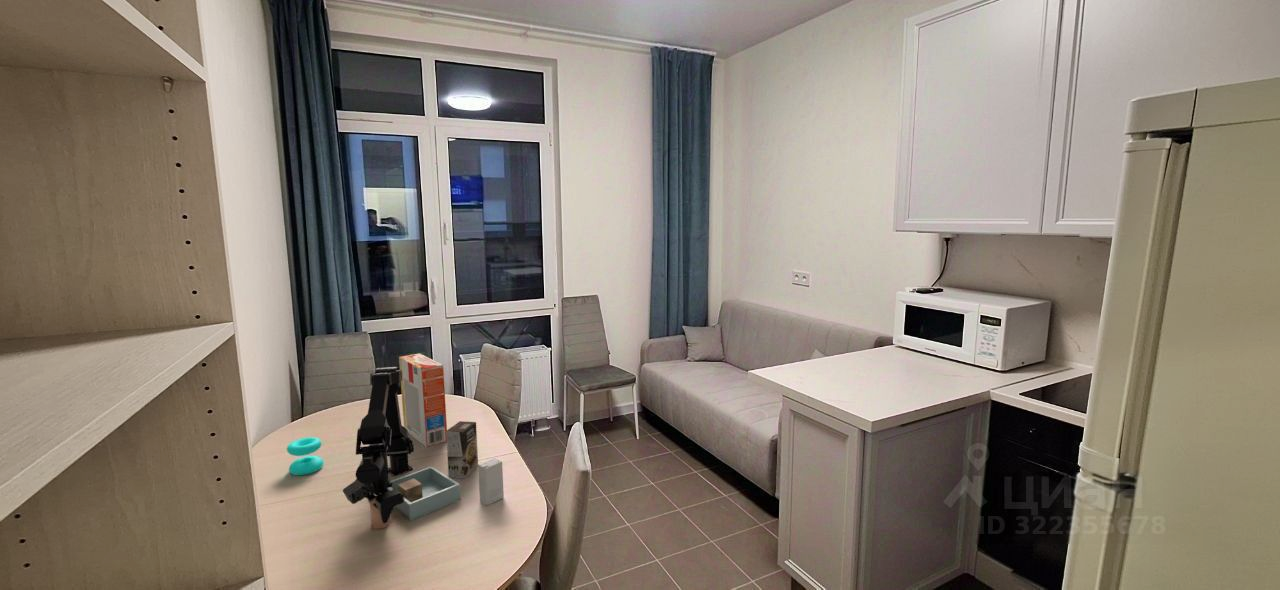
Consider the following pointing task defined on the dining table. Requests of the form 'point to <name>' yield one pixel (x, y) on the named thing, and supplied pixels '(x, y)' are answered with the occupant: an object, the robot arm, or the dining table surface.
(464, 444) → the coffee box
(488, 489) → the skincare box
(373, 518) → the terracotta cylinder
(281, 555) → the dining table surface
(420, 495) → the walnut cube
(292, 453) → the donuts
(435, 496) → the tote
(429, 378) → the pasta box
